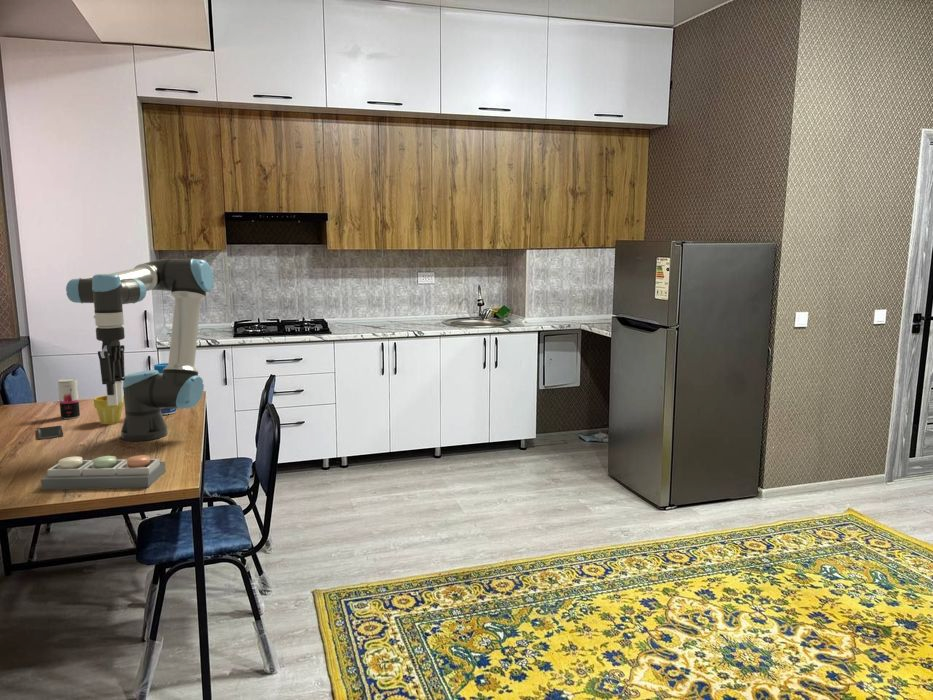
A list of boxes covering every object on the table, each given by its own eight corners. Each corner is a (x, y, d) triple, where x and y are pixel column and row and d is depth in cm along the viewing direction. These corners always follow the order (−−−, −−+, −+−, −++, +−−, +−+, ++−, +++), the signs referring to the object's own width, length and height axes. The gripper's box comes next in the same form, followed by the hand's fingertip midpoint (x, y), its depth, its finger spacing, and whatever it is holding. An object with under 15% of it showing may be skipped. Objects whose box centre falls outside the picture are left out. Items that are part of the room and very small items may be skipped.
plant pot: (130, 418, 274) (128, 394, 272) (118, 425, 263) (116, 400, 262) (103, 418, 273) (101, 394, 272) (90, 425, 263) (88, 400, 262)
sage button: (98, 461, 205) (98, 456, 205) (119, 461, 206) (119, 455, 206) (89, 468, 200) (89, 462, 199) (111, 468, 200) (110, 462, 200)
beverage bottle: (180, 410, 288) (177, 362, 285) (172, 415, 279) (169, 366, 276) (159, 410, 287) (156, 362, 284) (151, 415, 279) (148, 366, 276)
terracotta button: (132, 461, 206) (131, 455, 206) (153, 460, 207) (152, 455, 206) (123, 467, 200) (123, 461, 200) (145, 467, 201) (145, 461, 200)
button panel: (66, 473, 209) (64, 457, 208) (165, 471, 211) (164, 456, 211) (41, 489, 195) (40, 473, 195) (148, 487, 198) (147, 471, 197)
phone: (37, 437, 244) (36, 428, 256) (37, 441, 244) (37, 431, 257) (63, 434, 248) (61, 425, 261) (63, 437, 248) (61, 428, 261)
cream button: (65, 462, 205) (64, 456, 204) (86, 462, 205) (86, 456, 205) (54, 469, 199) (54, 463, 198) (76, 468, 199) (76, 462, 199)
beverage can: (72, 419, 272) (68, 381, 270) (57, 418, 273) (53, 381, 271) (83, 415, 278) (80, 378, 276) (69, 414, 279) (65, 378, 277)
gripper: (108, 323, 214) (113, 398, 218) (84, 329, 198) (90, 410, 202) (133, 323, 215) (138, 397, 218) (111, 329, 199) (117, 409, 203)
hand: (115, 403), depth 210 cm, fingers open, 3 cm apart
